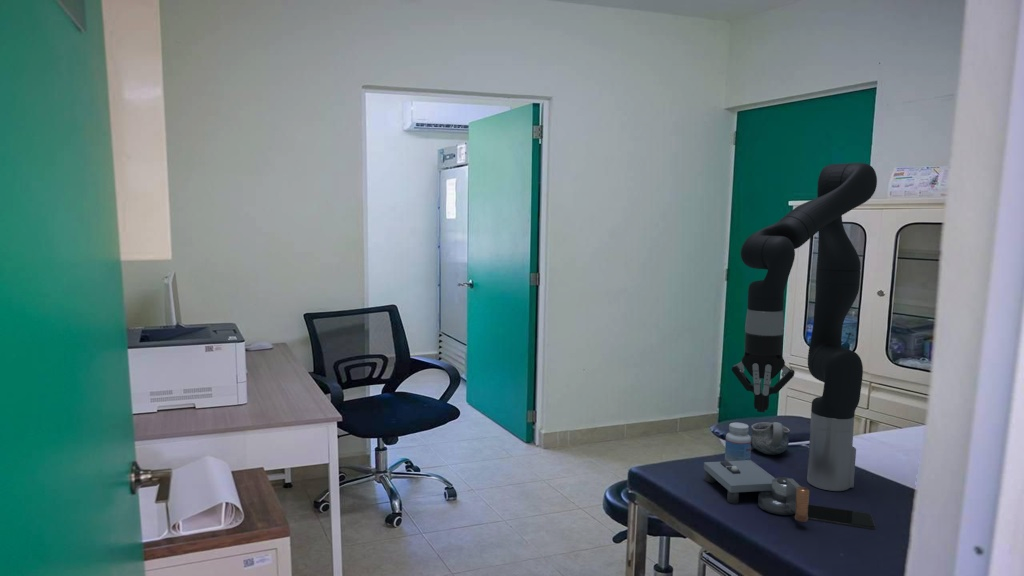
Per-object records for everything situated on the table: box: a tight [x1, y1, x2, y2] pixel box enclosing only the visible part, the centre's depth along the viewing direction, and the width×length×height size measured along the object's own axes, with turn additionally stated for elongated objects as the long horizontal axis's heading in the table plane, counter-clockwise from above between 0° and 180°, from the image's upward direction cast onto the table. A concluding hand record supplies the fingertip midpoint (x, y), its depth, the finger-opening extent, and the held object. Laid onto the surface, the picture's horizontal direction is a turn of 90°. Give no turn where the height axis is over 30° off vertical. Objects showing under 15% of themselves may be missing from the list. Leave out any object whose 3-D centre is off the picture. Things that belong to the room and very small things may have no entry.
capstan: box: [757, 476, 810, 523], centre depth 143 cm, size 14×8×8 cm, turn 0°
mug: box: [750, 421, 791, 456], centre depth 179 cm, size 10×12×10 cm
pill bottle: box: [724, 422, 752, 461], centre depth 169 cm, size 6×6×11 cm
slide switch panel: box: [703, 459, 775, 505], centre depth 156 cm, size 12×14×6 cm
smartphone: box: [808, 504, 876, 531], centre depth 143 cm, size 7×1×15 cm
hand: (761, 411), depth 143 cm, fingers closed
